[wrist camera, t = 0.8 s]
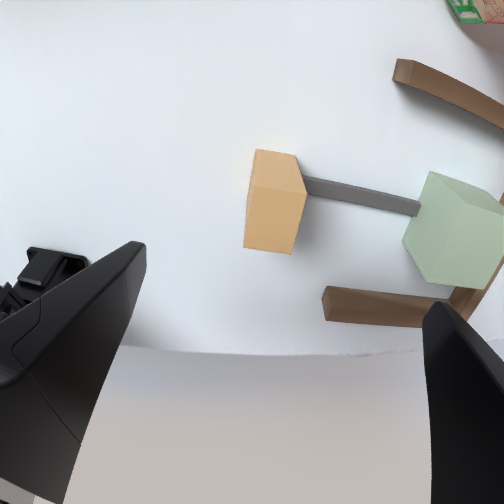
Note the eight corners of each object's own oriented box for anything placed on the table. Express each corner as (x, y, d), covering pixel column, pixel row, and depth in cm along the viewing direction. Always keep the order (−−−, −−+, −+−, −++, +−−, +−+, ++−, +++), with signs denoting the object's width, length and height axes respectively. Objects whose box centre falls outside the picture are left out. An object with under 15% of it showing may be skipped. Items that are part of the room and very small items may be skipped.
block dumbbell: (456, 251, 24) (489, 298, 19) (244, 214, 22) (239, 267, 17) (485, 190, 20) (528, 229, 15) (259, 129, 19) (259, 160, 14)
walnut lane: (451, 311, 28) (461, 329, 26) (321, 299, 27) (325, 320, 25) (537, 131, 17) (556, 142, 15) (397, 58, 16) (414, 60, 14)
